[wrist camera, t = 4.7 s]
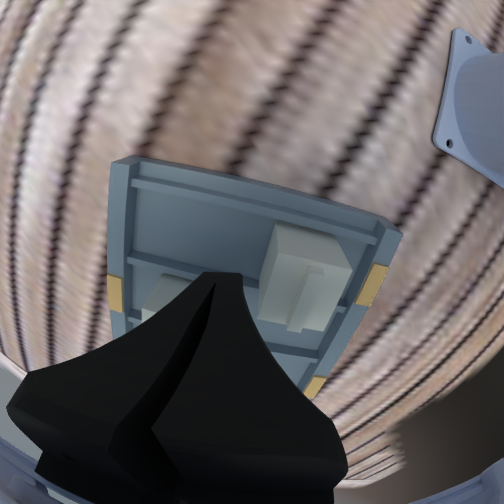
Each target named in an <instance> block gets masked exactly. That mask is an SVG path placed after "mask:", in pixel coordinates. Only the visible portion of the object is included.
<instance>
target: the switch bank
mask: <svg viewBox="0 0 504 504" xmlns="http://www.w3.org/2000/svg"><path fill="white" fill-rule="evenodd" d="M276 220H278V221H282V222H286V223H290V224H294V225H298V226H302V227H306V228H310V229H313V230H317V231H321V232H325V233H328V234H332V235H335V237H336V239H337V241H338V243H339V245H340V247H341V249H342V251H343V253H344V254H345V256H346V258H347V260H348V262H349V264H350V266H351V268H352V273H351V275H350V277H349V279H348V282H347V284H346V286H345V288H344V290H343V293H342V295H341V297H340V299H339V301H338V303H337V305H336V307H335V309H334V311H333V313H332V315H331V318H330V320H329V322H328V324H327V326H326V327H325V329H324V331H317V330H311V329H306V328H303V329H302V331H301V333H298V332H292V331H287V329H286V325H285V324H279V323H274V322H269V321H265V320H260V319H257V312H258V295H259V277H260V273H261V270H262V266H263V263H264V259H265V256H266V252H267V249H268V246H269V242H270V239H271V235H272V232H273V228H274V225H275V221H276ZM402 235H403V233H402V232H401V231H400V230H399V229H398V228H397V227H395V226H394V225H393V224H392V223H391V222H390V221H389V220H388V219H387V218H385V217H382V216H379V215H376V214H373V213H370V212H366V211H363V210H360V209H357V208H354V207H351V206H347V205H344V204H341V203H338V202H334V201H331V200H327V199H324V198H321V197H317V196H314V195H310V194H306V193H303V192H299V191H296V190H292V189H288V188H284V187H280V186H277V185H273V184H269V183H265V182H261V181H257V180H252V179H248V178H244V177H240V176H235V175H231V174H226V173H222V172H217V171H213V170H208V169H203V168H198V167H193V166H188V165H183V164H178V163H172V162H167V161H161V160H156V159H150V158H144V157H138V156H129V157H126V158H123V159H120V160H117V161H114V162H111V170H110V182H109V196H108V220H107V265H108V274H107V287H108V301H109V309H110V315H111V325H112V334H113V340H115V339H117V338H118V337H120V336H122V335H124V334H126V333H127V332H129V331H131V330H132V329H134V328H135V327H137V326H138V325H140V324H142V307H143V305H144V303H145V302H146V300H147V298H148V297H149V295H150V293H151V292H152V290H153V288H154V287H155V285H156V283H157V282H158V280H159V278H160V277H161V275H162V273H166V274H170V275H174V276H178V277H182V278H186V279H190V280H195V279H196V278H197V277H198V276H200V275H201V274H202V273H203V272H229V273H240V274H241V275H242V276H243V291H244V295H245V299H246V302H247V305H248V308H249V311H250V313H251V316H252V318H253V320H254V323H255V325H256V327H257V329H258V331H259V333H260V335H261V337H262V339H263V340H264V342H265V344H266V346H267V347H268V349H269V350H270V352H271V353H272V355H273V356H274V358H275V360H276V361H277V362H278V364H279V365H280V366H281V367H282V369H283V370H284V371H285V373H286V374H287V375H288V376H289V378H290V379H291V380H292V381H293V383H294V384H295V385H296V386H297V387H298V388H299V389H300V390H301V392H302V393H303V394H304V395H305V396H306V397H307V398H308V399H309V400H310V401H311V399H313V398H314V397H315V395H316V394H317V392H318V391H319V389H320V388H321V386H322V385H323V383H324V382H325V381H326V379H327V376H328V374H329V373H330V371H331V370H332V368H333V366H334V365H335V363H336V362H337V360H338V359H339V357H340V355H341V354H342V352H343V350H344V349H345V347H346V345H347V344H348V342H349V340H350V339H351V337H352V335H353V334H354V332H355V330H356V328H357V327H358V325H359V323H360V321H361V319H362V318H363V316H364V314H365V312H366V310H367V308H368V307H370V305H371V303H372V302H373V300H374V298H375V296H376V294H377V292H378V290H379V288H380V286H381V284H382V282H383V280H384V278H385V276H386V274H387V272H388V270H389V265H390V262H391V260H392V258H393V256H394V254H395V251H396V249H397V247H398V245H399V242H400V240H401V238H402Z"/></svg>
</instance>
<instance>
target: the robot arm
mask: <svg viewBox="0 0 504 504" xmlns="http://www.w3.org/2000/svg"><path fill="white" fill-rule="evenodd" d="M466 39H467V40H468V42H467V41H466ZM447 140H449V146H448V147H447V145H446V141H447ZM433 142H434V144H435V146H436V147H437V148H439V149H441V150H443V151H445V152H446V153H448V154H450V155H452V156H453V157H455V158H457V159H459V160H460V161H462V162H464V163H465V164H467V165H468V166H470V167H472V168H473V169H475V170H476V171H478V172H479V173H481V174H482V175H484V176H485V177H487V178H488V179H490V180H491V181H493V182H494V183H496V184H497V185H499V186H500V187H501V188H503V189H504V52H503V53H495V54H493V53H492V52H491V51H490V50H489V49H487V48H486V47H485V46H484V45H483V44H481V43H480V42H479V41H477V40H476V39H475V38H474V37H472V36H471V35H470V34H468V33H467V32H466V31H464V30H463V29H461V28H456V29H454V30H453V35H452V44H451V52H450V59H449V65H448V71H447V77H446V82H445V88H444V93H443V97H442V102H441V106H440V111H439V115H438V119H437V123H436V127H435V131H434V134H433ZM6 409H7V412H8V415H9V417H10V418H11V420H12V421H13V422H14V423H15V425H16V426H17V427H18V428H19V429H20V430H21V431H22V432H23V433H24V434H25V435H26V436H28V438H29V439H30V440H31V441H33V443H35V444H36V445H37V446H38V447H39V448H40V449H41V450H42V451H43V453H42V455H41V457H40V459H39V461H37V460H35V459H34V458H32V457H30V456H29V455H27V454H26V453H24V452H23V451H21V450H19V449H18V448H16V447H15V446H13V445H12V444H10V443H9V442H7V441H6V440H5V439H3V438H2V437H0V504H63V503H61V502H60V501H58V500H56V499H54V498H52V497H51V496H50V495H49V494H48V490H47V488H46V487H48V488H50V489H51V490H53V491H55V492H57V493H59V494H60V495H62V496H64V497H66V498H68V499H70V500H72V501H74V502H76V503H79V504H334V493H333V488H334V487H335V486H336V485H337V484H338V483H339V482H340V481H341V480H342V479H343V478H344V477H345V476H346V474H347V472H348V462H347V458H346V454H345V451H344V447H343V444H342V442H341V439H340V436H339V434H338V432H337V430H336V427H335V425H334V423H333V421H332V420H331V419H330V418H328V417H327V416H326V415H325V414H324V413H323V412H322V411H321V410H319V409H318V408H317V407H316V406H315V405H314V404H313V403H312V402H311V401H310V400H309V399H308V398H307V397H306V396H305V395H304V394H303V393H302V392H301V390H300V389H299V388H298V387H297V386H296V385H295V384H294V383H293V381H292V380H291V379H290V378H289V376H288V375H287V374H286V373H285V371H284V370H283V369H282V367H281V366H280V365H279V364H278V362H277V361H276V360H275V358H274V356H273V355H272V353H271V352H270V350H269V349H268V347H267V346H266V344H265V342H264V340H263V339H262V337H261V335H260V333H259V331H258V329H257V327H256V325H255V323H254V320H253V318H252V316H251V313H250V311H249V308H248V305H247V302H246V299H245V295H244V291H243V276H242V275H241V274H240V273H229V272H203V273H202V274H201V275H200V276H198V277H197V278H196V279H195V280H194V281H193V282H192V283H191V284H190V285H189V286H188V287H186V288H185V289H184V290H183V291H182V292H181V293H180V294H179V295H177V296H176V297H175V298H174V299H173V300H172V301H171V302H169V303H168V304H167V305H166V306H164V307H163V308H162V309H160V310H159V311H158V312H157V313H155V314H154V315H153V316H152V317H150V318H149V319H147V320H146V321H144V322H143V323H142V324H140V325H138V326H137V327H135V328H134V329H132V330H131V331H129V332H127V333H126V334H124V335H122V336H120V337H118V338H117V339H115V340H113V341H111V342H109V343H107V344H105V345H103V346H101V347H99V348H97V349H95V350H93V351H91V352H88V353H86V354H84V355H81V356H79V357H76V358H73V359H71V360H68V361H65V362H62V363H59V364H56V365H52V366H49V367H45V368H42V369H38V370H35V371H30V372H28V373H27V375H26V377H25V378H24V380H23V381H22V383H21V384H20V386H19V387H18V389H17V390H16V392H15V394H14V395H13V397H12V399H11V400H10V402H9V403H8V405H7V406H6ZM45 486H46V487H45ZM409 504H504V458H502V459H501V460H499V461H497V462H496V463H494V464H493V465H492V466H490V467H489V468H487V469H486V470H485V471H484V472H483V473H482V474H481V475H479V476H477V477H475V478H473V479H471V480H469V481H466V482H464V483H462V484H460V485H457V486H455V487H453V488H451V489H448V490H446V491H443V492H441V493H438V494H435V495H433V496H430V497H427V498H424V499H421V500H418V501H415V502H412V503H409Z"/></svg>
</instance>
